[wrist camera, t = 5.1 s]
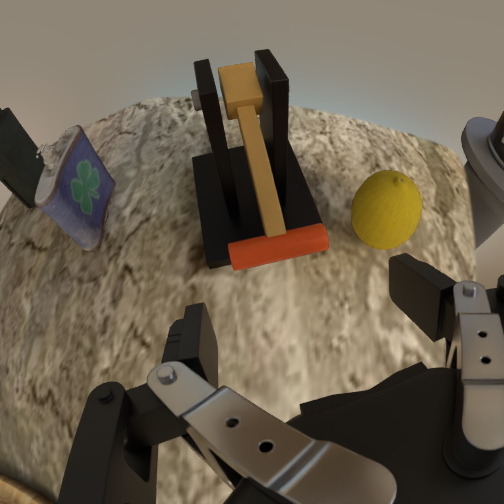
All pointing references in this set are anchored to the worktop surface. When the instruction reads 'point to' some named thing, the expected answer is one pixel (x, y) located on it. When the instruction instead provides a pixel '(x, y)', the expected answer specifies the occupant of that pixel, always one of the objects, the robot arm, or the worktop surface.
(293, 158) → the black lever stand
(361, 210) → the lemon
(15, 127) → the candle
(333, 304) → the worktop surface
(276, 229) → the valve lever
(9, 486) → the wooden plate
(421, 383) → the robot arm
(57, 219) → the flask
